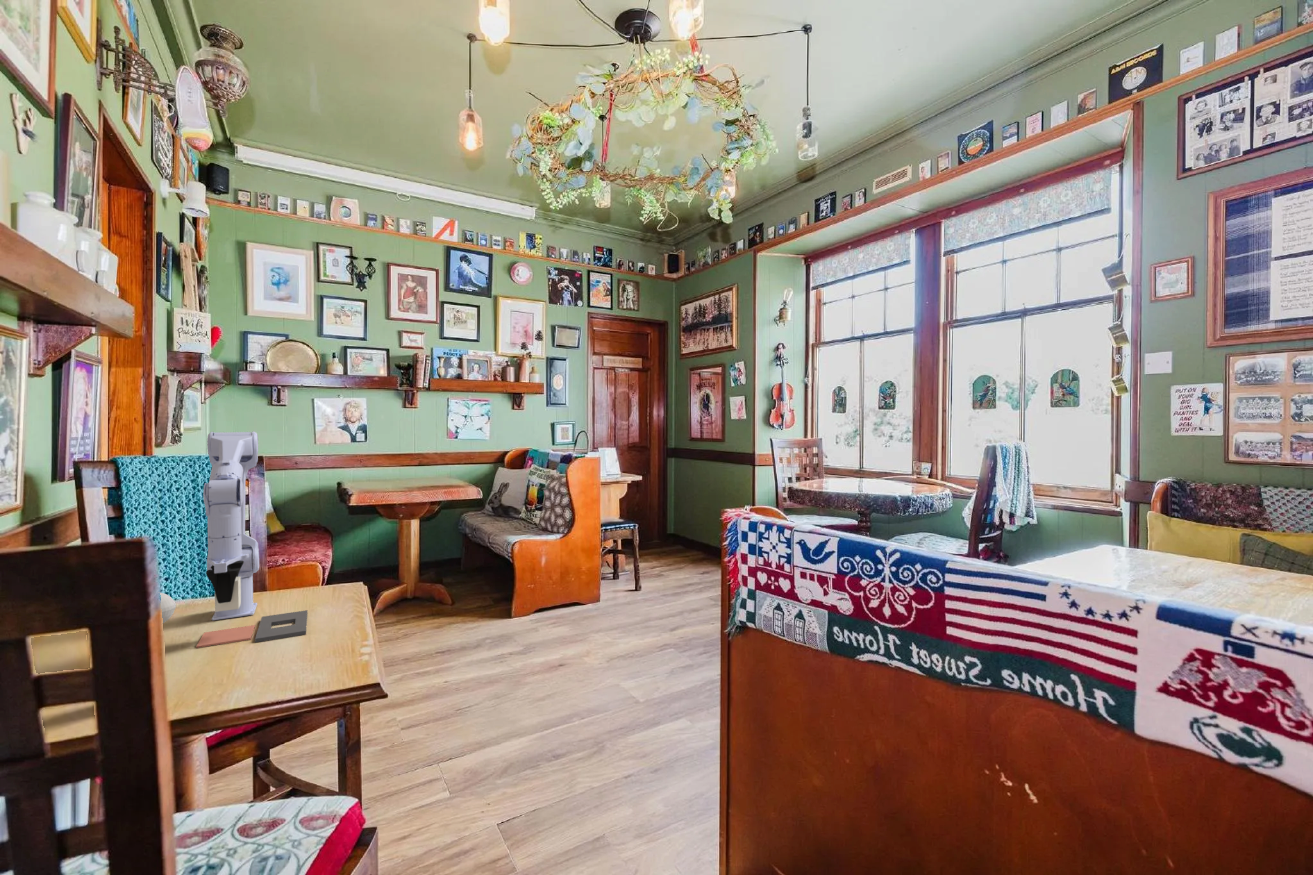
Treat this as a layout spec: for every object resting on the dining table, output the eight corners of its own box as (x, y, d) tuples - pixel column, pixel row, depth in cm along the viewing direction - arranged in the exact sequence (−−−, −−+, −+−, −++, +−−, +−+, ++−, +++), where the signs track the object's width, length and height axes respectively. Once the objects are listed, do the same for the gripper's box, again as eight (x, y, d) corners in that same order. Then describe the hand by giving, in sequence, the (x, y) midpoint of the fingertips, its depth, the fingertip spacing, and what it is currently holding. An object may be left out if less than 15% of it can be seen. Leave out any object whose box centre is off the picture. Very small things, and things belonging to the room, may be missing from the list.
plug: (217, 606, 123) (217, 578, 123) (240, 603, 125) (240, 576, 125) (215, 611, 120) (214, 583, 119) (238, 608, 122) (238, 580, 122)
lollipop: (126, 686, 99) (124, 600, 99) (138, 673, 105) (136, 591, 104) (172, 678, 102) (170, 595, 102) (181, 666, 107) (179, 586, 107)
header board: (262, 620, 133) (261, 616, 133) (307, 613, 137) (307, 610, 137) (255, 642, 119) (255, 638, 119) (305, 634, 124) (305, 630, 124)
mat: (204, 634, 124) (204, 632, 124) (254, 626, 128) (254, 624, 128) (196, 648, 116) (196, 646, 116) (250, 639, 121) (250, 637, 121)
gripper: (244, 539, 118) (245, 605, 118) (251, 528, 130) (252, 588, 130) (200, 543, 114) (202, 611, 114) (212, 531, 127) (213, 592, 127)
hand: (226, 599), depth 122 cm, fingers closed on plug, 4 cm apart
